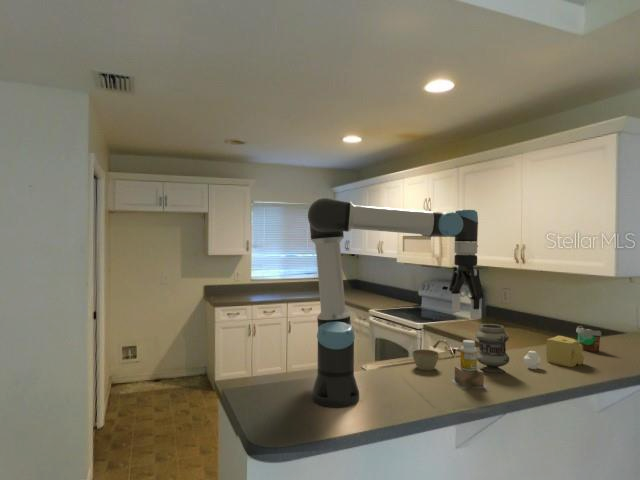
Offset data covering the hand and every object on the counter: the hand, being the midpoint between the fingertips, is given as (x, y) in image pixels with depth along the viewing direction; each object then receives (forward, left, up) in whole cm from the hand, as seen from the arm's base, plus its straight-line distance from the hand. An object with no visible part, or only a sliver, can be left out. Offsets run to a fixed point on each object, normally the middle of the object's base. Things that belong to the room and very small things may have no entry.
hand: (464, 315), depth 147 cm
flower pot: (-7, +18, -25) cm, 32 cm away
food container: (+80, +39, -25) cm, 93 cm away
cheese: (+55, +21, -25) cm, 64 cm away
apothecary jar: (+18, +13, -25) cm, 34 cm away
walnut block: (+1, -1, -24) cm, 24 cm away
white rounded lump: (+37, +16, -25) cm, 48 cm away
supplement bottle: (+1, -1, -19) cm, 19 cm away
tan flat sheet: (+1, -1, -25) cm, 25 cm away
